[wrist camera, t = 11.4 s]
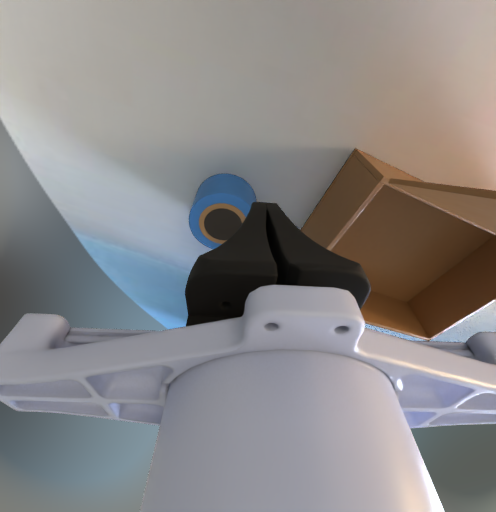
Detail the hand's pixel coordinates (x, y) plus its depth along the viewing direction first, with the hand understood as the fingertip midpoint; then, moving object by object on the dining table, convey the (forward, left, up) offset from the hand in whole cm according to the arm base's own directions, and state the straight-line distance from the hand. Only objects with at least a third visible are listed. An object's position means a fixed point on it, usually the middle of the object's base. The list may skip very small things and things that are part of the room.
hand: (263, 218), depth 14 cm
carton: (+13, -8, -8) cm, 18 cm away
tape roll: (-3, -4, -8) cm, 10 cm away
